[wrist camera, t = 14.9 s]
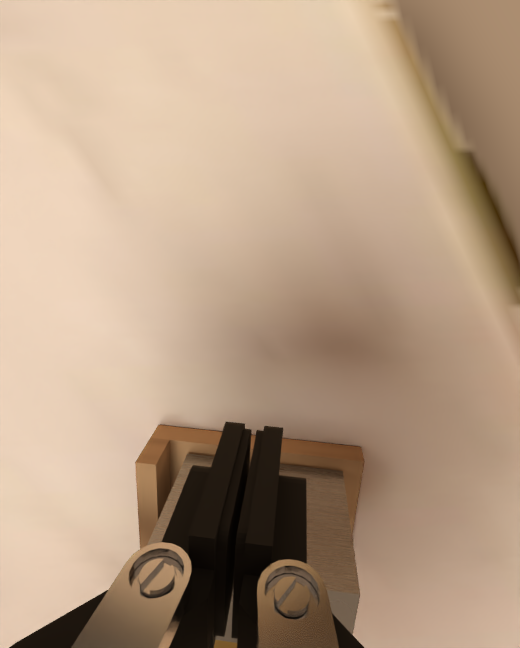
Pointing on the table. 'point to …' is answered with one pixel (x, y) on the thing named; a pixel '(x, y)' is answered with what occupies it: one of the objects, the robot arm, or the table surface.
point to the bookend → (322, 534)
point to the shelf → (175, 442)
